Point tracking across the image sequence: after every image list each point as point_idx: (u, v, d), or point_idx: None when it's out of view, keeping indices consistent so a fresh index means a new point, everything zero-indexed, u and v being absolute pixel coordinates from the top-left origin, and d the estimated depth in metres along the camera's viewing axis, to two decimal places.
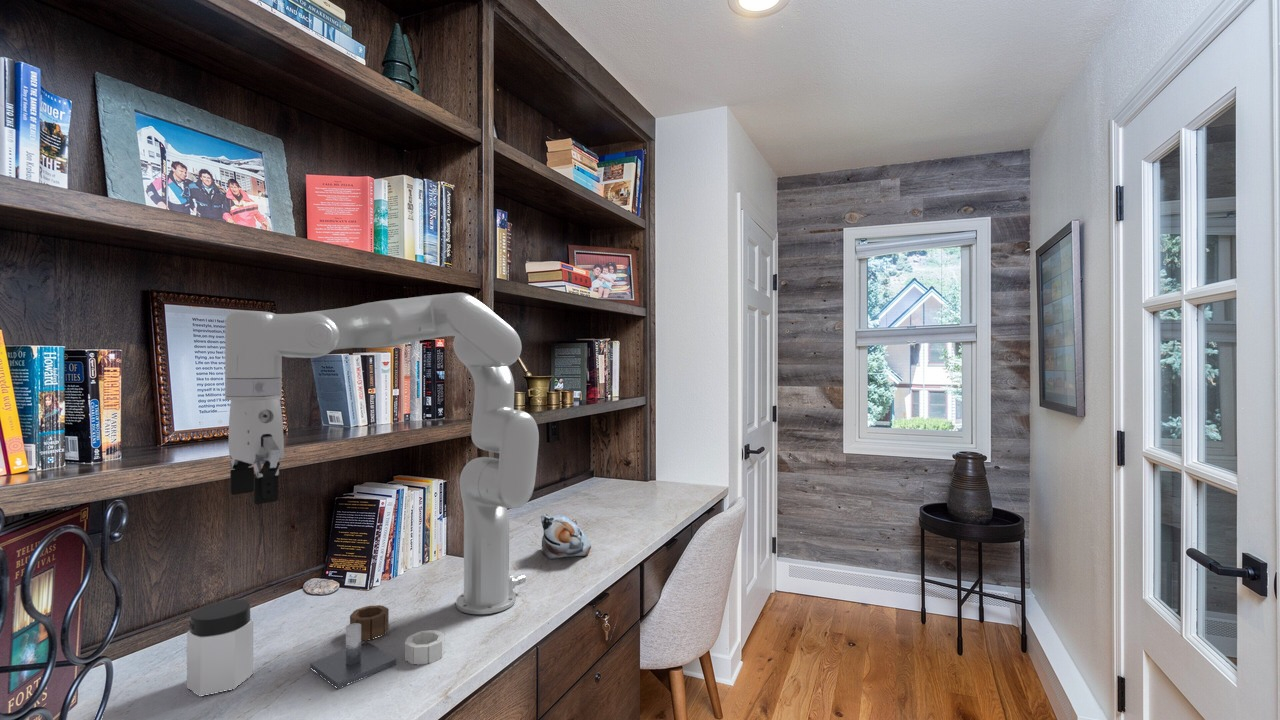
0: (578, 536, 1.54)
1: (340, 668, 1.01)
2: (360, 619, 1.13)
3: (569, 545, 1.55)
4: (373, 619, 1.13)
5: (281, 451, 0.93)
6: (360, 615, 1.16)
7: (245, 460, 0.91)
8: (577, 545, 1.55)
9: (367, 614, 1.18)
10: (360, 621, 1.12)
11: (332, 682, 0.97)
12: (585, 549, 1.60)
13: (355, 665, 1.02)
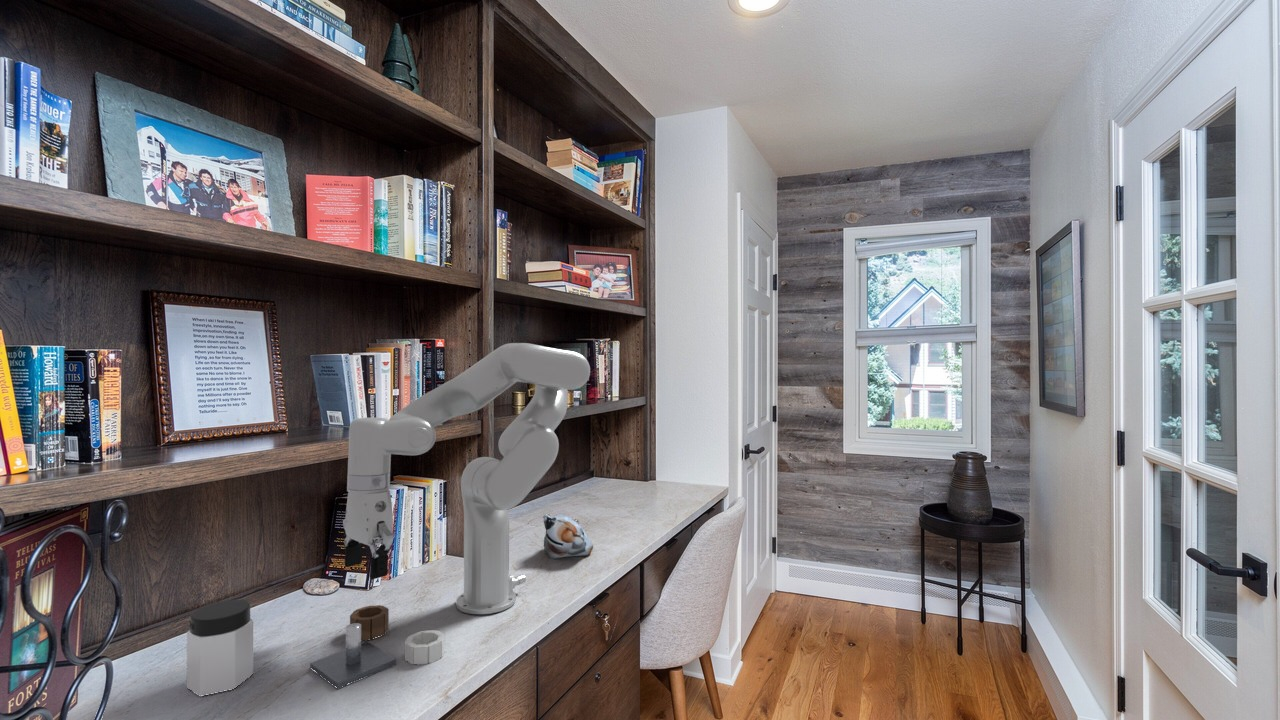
0: (581, 536, 1.54)
1: (340, 668, 1.01)
2: (360, 619, 1.13)
3: (572, 544, 1.55)
4: (373, 619, 1.13)
5: None
6: (360, 615, 1.16)
7: (363, 542, 1.12)
8: (579, 544, 1.55)
9: (367, 614, 1.18)
10: (360, 621, 1.12)
11: (332, 682, 0.97)
12: (587, 549, 1.60)
13: (355, 665, 1.02)
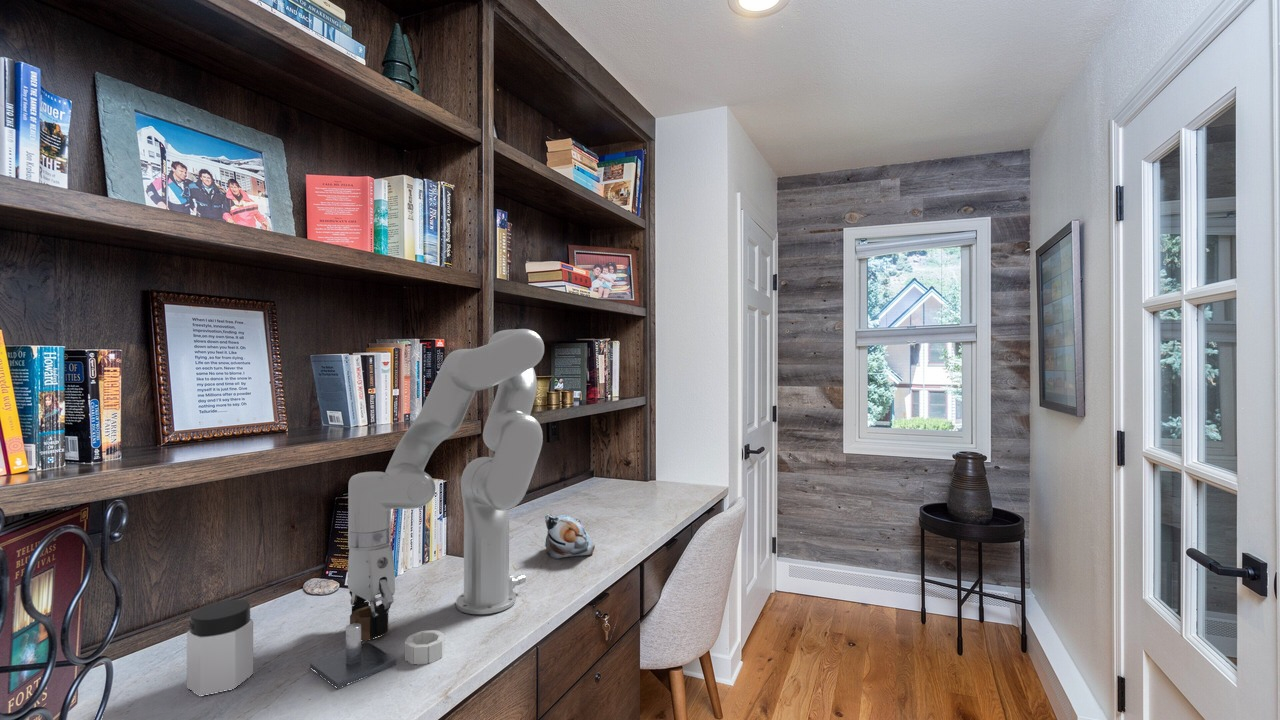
0: (583, 535, 1.55)
1: (340, 668, 1.01)
2: (360, 619, 1.13)
3: (574, 544, 1.55)
4: None
5: (393, 589, 1.14)
6: (360, 615, 1.16)
7: (366, 598, 1.12)
8: (582, 544, 1.55)
9: (367, 614, 1.17)
10: (360, 621, 1.12)
11: (332, 682, 0.97)
12: (589, 548, 1.60)
13: (355, 665, 1.02)
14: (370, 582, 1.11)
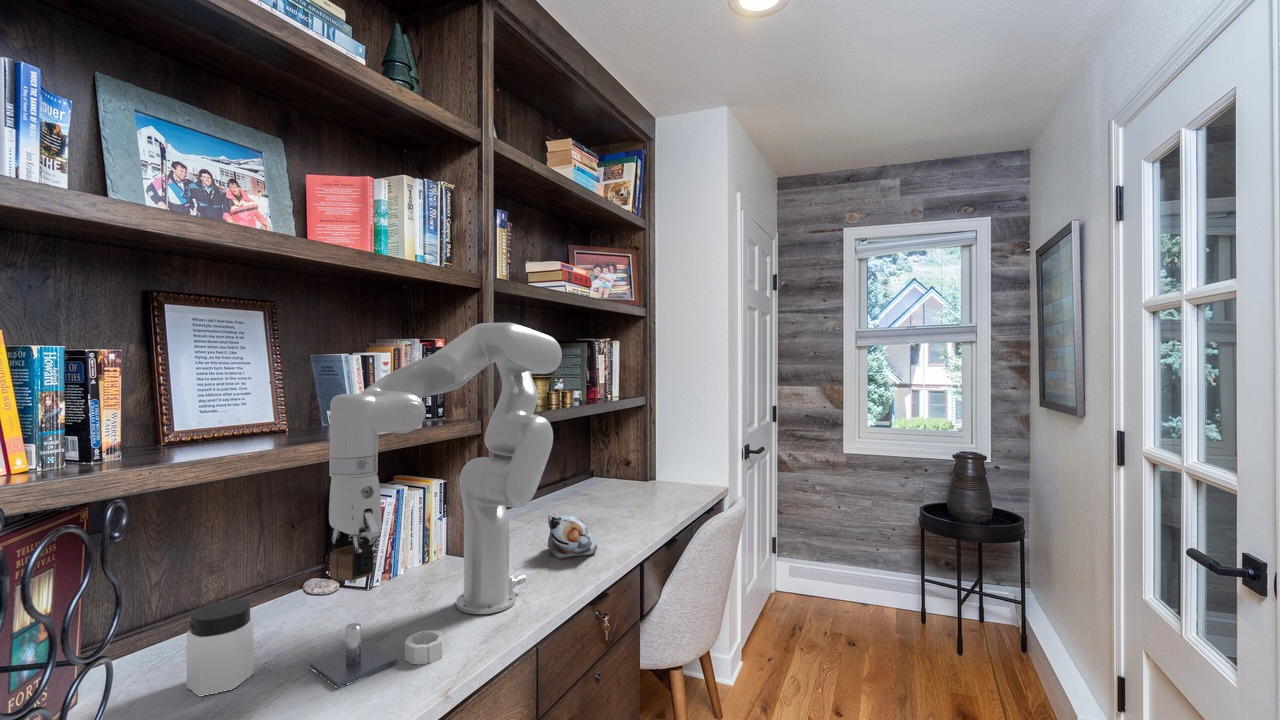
0: (587, 535, 1.55)
1: (340, 668, 1.01)
2: (341, 556, 1.00)
3: (577, 544, 1.55)
4: None
5: (379, 523, 1.01)
6: (342, 554, 1.04)
7: (348, 532, 1.00)
8: (585, 544, 1.56)
9: (350, 554, 1.05)
10: (341, 558, 1.00)
11: (332, 682, 0.97)
12: (592, 548, 1.60)
13: (355, 665, 1.02)
14: (353, 513, 0.99)
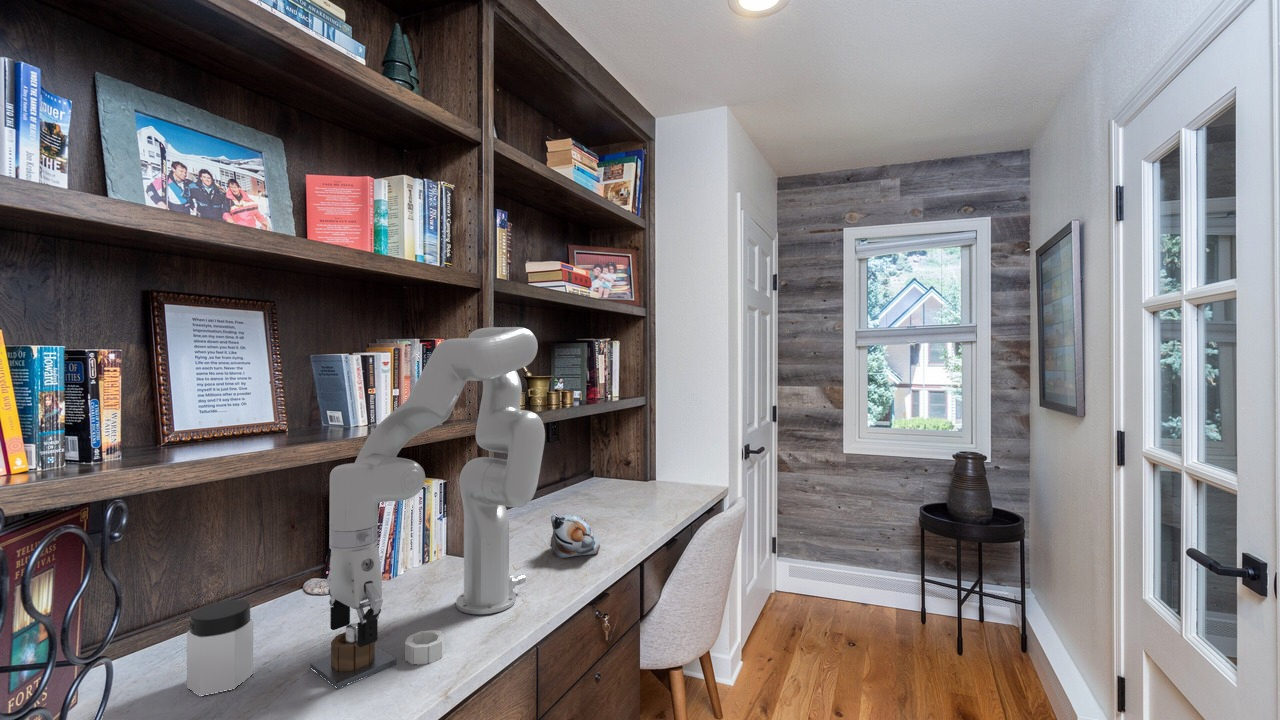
0: (591, 535, 1.55)
1: None
2: (342, 646, 1.00)
3: (581, 544, 1.56)
4: (357, 646, 1.00)
5: (380, 594, 1.02)
6: (343, 641, 1.04)
7: (349, 605, 1.00)
8: (589, 543, 1.56)
9: None
10: (342, 648, 1.00)
11: (332, 682, 0.97)
12: (595, 548, 1.61)
13: None
14: (354, 587, 0.99)
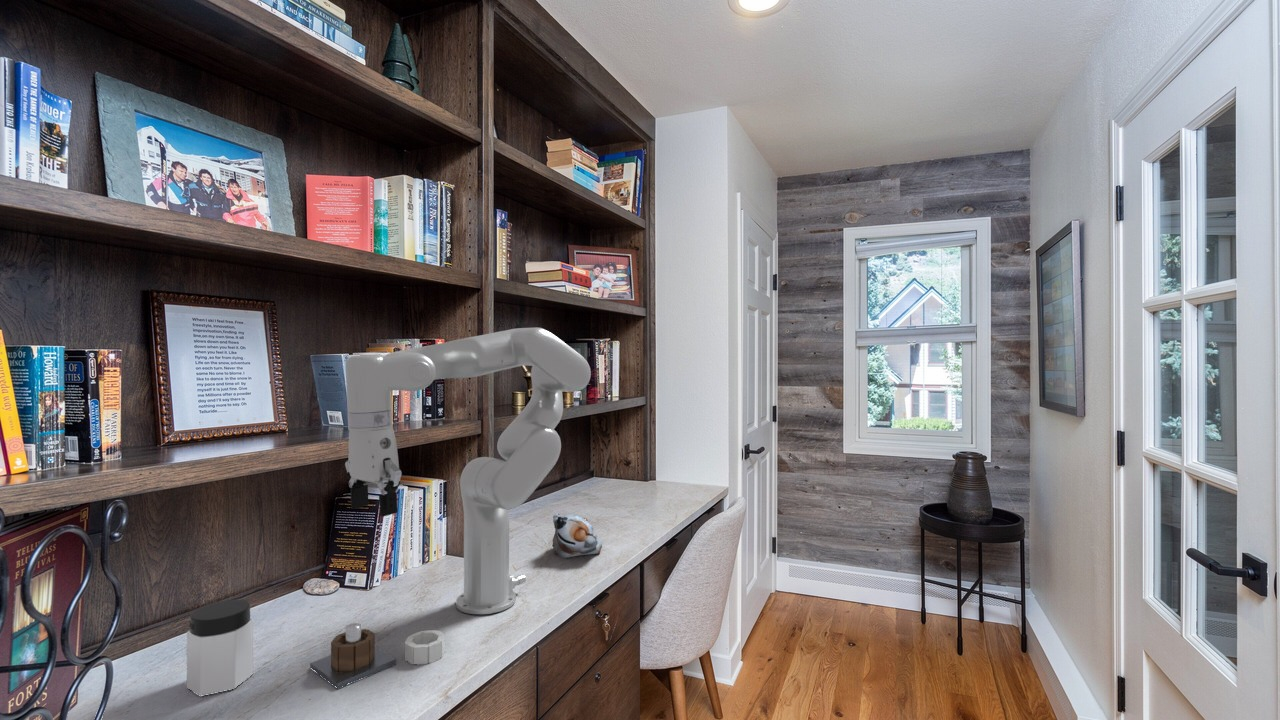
0: (593, 534, 1.56)
1: None
2: (342, 646, 1.00)
3: (584, 543, 1.56)
4: (357, 646, 1.00)
5: None
6: (343, 641, 1.04)
7: (370, 480, 1.09)
8: (592, 543, 1.56)
9: None
10: (342, 648, 1.00)
11: (332, 682, 0.97)
12: (598, 547, 1.61)
13: None
14: (374, 462, 1.08)
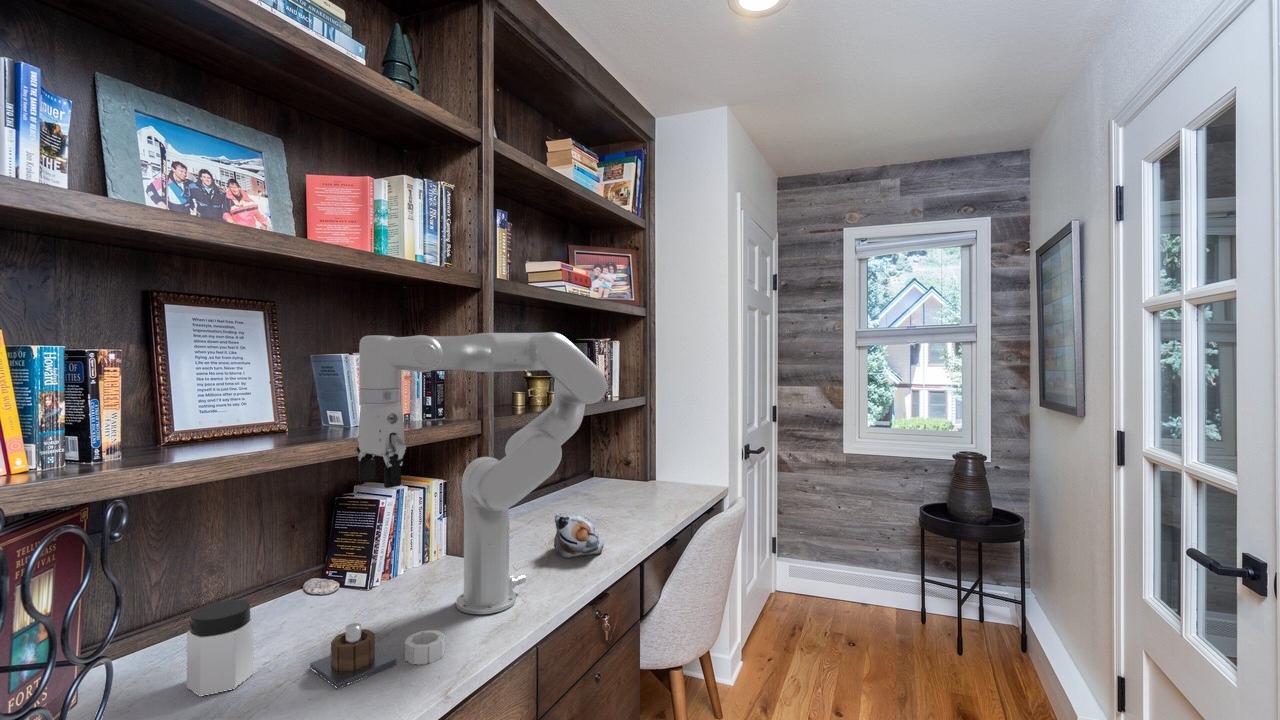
0: (595, 534, 1.56)
1: None
2: (342, 646, 1.00)
3: (586, 543, 1.56)
4: (357, 646, 1.00)
5: None
6: (343, 641, 1.04)
7: (376, 453, 1.16)
8: (593, 543, 1.56)
9: None
10: (342, 648, 1.00)
11: (332, 682, 0.97)
12: (599, 547, 1.61)
13: None
14: (381, 436, 1.15)
